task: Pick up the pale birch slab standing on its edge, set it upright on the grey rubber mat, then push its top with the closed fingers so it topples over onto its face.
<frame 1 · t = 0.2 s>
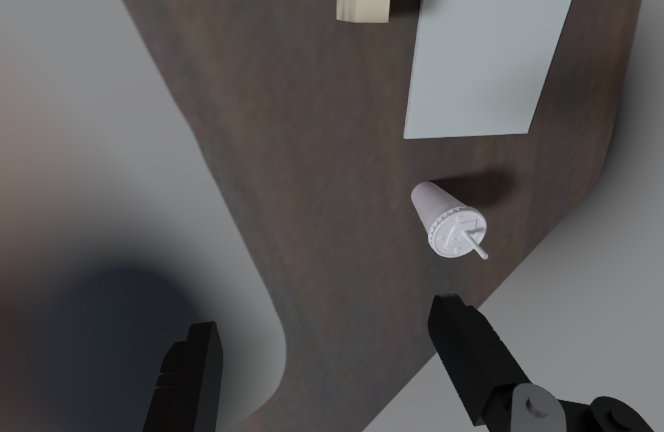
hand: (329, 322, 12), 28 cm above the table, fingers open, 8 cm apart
mat: (486, 42, 35), on the table
smoothie: (423, 193, 44), on the table
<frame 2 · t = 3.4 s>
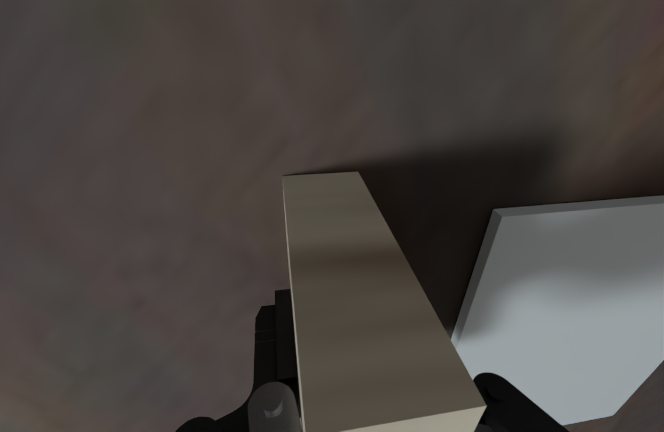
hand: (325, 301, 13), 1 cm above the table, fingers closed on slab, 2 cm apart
mat: (568, 341, 20), on the table
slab: (321, 282, 14), on the table, touching gripper
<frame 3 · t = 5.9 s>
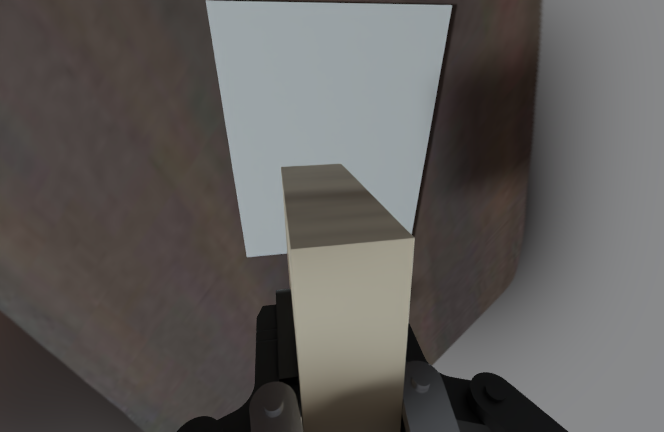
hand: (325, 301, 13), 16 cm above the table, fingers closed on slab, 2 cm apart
mat: (332, 148, 27), on the table
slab: (315, 267, 16), point 13 cm above the table, tilted 12°, touching gripper
when the fingers open (3 cm above the table, at t = 8.6 s): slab stays where it is, resting on mat.
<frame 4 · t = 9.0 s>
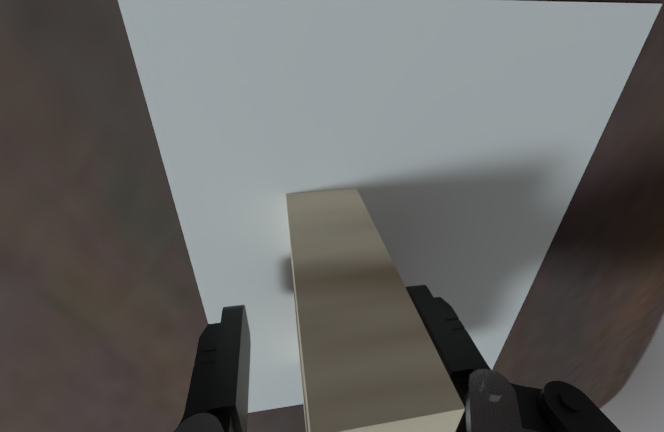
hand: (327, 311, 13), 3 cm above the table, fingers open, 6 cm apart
mat: (382, 259, 15), on the table
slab: (323, 289, 15), point 1 cm above the table, touching mat
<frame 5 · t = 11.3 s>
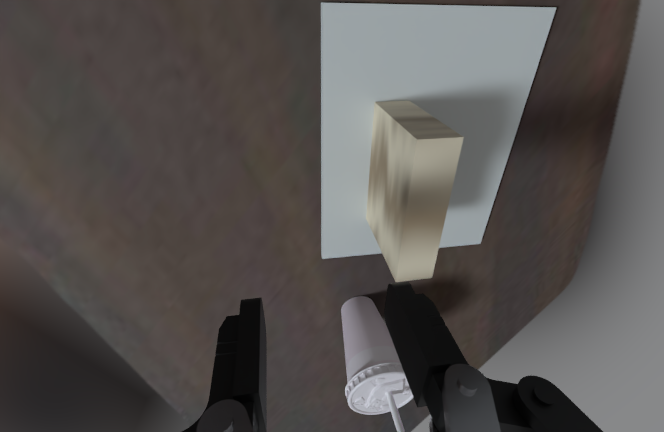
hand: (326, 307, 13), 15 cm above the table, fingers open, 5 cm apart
mat: (418, 150, 27), on the table
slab: (385, 165, 26), point 1 cm above the table, touching mat
smoothie: (357, 306, 36), on the table
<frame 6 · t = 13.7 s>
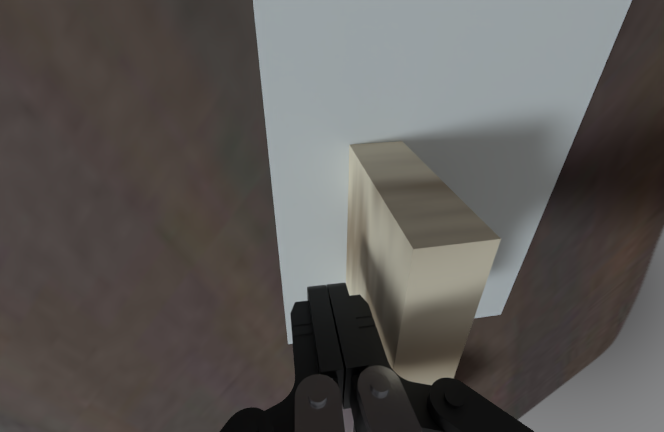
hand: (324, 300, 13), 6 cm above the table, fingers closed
mat: (416, 205, 19), on the table
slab: (369, 228, 18), point 1 cm above the table, touching gripper, mat
smoothie: (340, 388, 28), on the table
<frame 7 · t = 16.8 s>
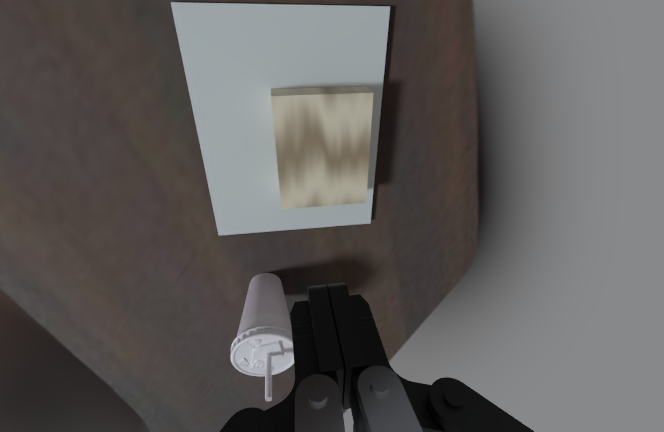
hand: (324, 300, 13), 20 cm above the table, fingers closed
mat: (292, 134, 30), on the table
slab: (276, 152, 29), point 2 cm above the table, tilted 90°, touching mat
smoothie: (265, 283, 39), on the table
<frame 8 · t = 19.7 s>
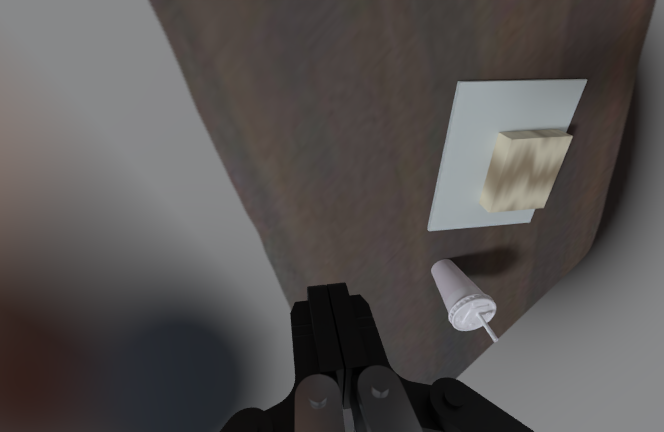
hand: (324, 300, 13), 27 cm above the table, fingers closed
mat: (497, 161, 43), on the table
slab: (493, 174, 42), point 2 cm above the table, tilted 90°, touching mat
smoothie: (441, 267, 52), on the table
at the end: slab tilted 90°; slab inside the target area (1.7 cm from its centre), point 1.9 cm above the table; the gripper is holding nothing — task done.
